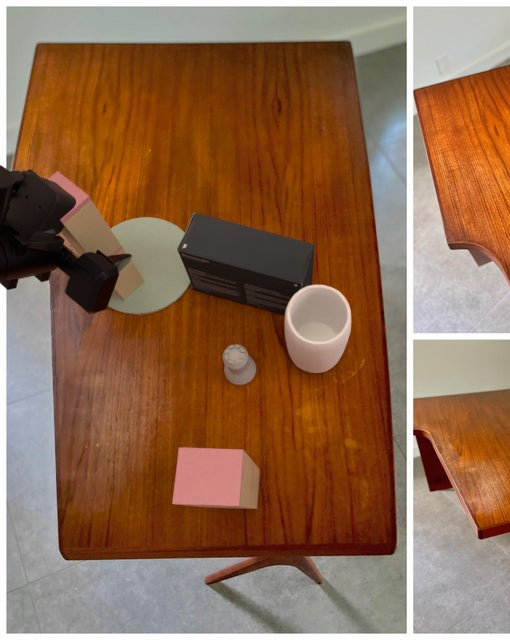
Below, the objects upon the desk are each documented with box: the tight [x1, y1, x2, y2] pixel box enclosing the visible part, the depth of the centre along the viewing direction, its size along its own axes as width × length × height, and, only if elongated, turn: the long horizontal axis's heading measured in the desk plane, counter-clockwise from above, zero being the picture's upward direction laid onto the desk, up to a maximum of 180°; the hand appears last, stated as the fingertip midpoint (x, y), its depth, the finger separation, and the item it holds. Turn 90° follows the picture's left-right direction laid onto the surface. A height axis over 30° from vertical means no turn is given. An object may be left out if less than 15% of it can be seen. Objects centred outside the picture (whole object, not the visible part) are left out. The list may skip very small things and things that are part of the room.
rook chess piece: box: [222, 343, 257, 386], centre depth 71 cm, size 4×4×8 cm
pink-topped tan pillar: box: [47, 170, 145, 300], centre depth 68 cm, size 4×5×22 cm
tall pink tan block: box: [171, 446, 261, 510], centre depth 59 cm, size 6×5×22 cm
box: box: [177, 212, 316, 316], centre depth 74 cm, size 17×7×12 cm, turn 74°
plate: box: [107, 216, 192, 316], centre depth 80 cm, size 16×16×1 cm
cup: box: [283, 284, 352, 374], centre depth 70 cm, size 8×8×14 cm
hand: (104, 237), depth 68 cm, fingers open, 9 cm apart
